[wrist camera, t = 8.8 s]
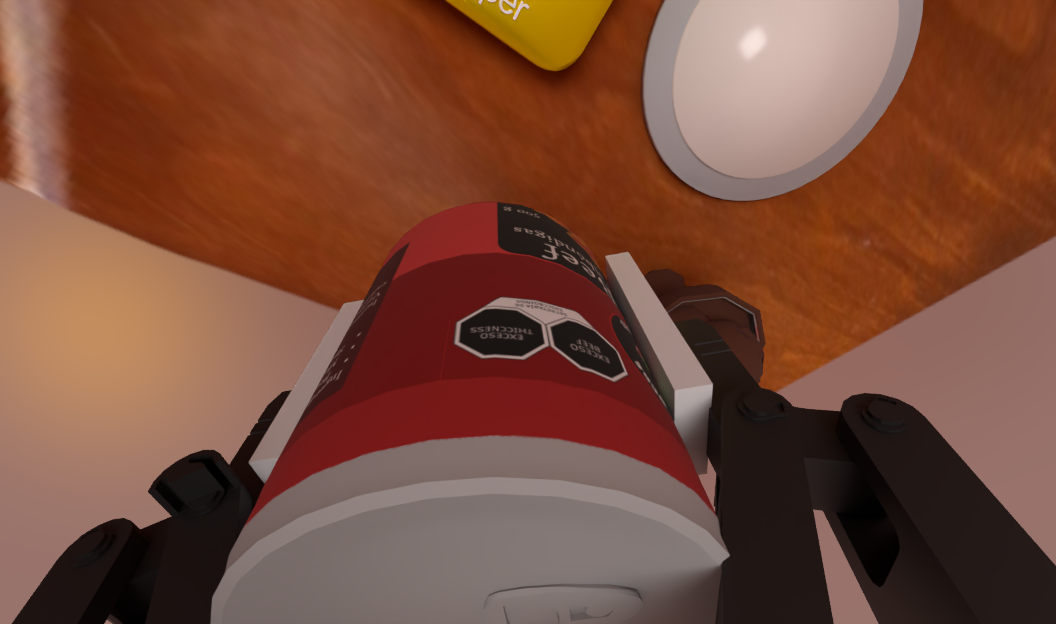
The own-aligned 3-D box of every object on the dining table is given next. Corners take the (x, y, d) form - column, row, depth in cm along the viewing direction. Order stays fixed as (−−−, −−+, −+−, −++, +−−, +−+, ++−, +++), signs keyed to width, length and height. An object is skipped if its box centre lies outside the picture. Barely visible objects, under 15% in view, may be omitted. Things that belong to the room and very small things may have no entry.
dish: (648, 219, 39) (653, 225, 37) (631, -72, 28) (638, -78, 27) (877, 169, 38) (891, 173, 37) (948, -151, 27) (970, -161, 26)
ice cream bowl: (580, 294, 42) (619, 402, 30) (679, 218, 39) (770, 304, 26) (640, 356, 47) (696, 474, 34) (733, 294, 44) (833, 398, 31)
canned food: (625, 335, 17) (776, 674, 8) (446, 402, 19) (394, 763, 9) (555, 150, 14) (686, 380, 4) (337, 250, 15) (59, 600, 5)
